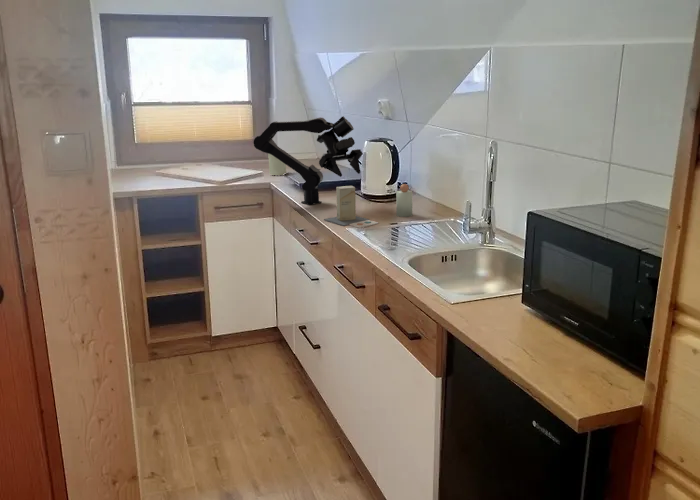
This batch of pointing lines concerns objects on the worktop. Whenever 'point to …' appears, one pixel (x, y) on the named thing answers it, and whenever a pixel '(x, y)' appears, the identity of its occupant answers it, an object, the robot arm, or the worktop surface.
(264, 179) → the worktop surface
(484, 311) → the worktop surface
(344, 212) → the skincare box
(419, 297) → the worktop surface
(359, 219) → the mat
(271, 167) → the can
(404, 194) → the perfume bottle
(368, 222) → the card
